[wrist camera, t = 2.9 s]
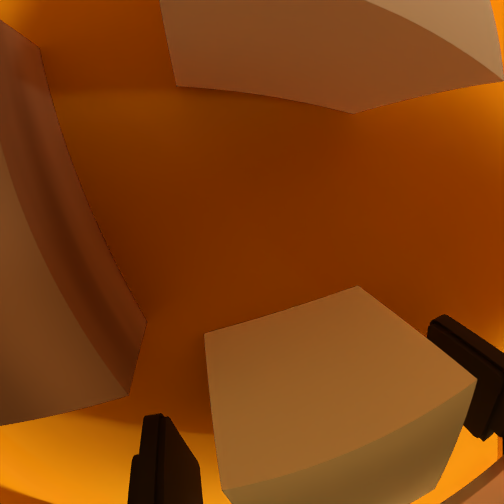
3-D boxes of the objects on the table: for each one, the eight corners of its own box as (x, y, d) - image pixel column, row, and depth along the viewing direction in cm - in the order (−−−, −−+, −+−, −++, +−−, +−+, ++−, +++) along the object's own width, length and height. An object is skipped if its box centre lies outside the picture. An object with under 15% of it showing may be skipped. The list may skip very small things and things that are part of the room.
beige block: (357, 284, 10) (477, 379, 5) (363, 393, 12) (434, 488, 6) (204, 332, 10) (221, 490, 4) (244, 434, 11) (276, 554, 6)
